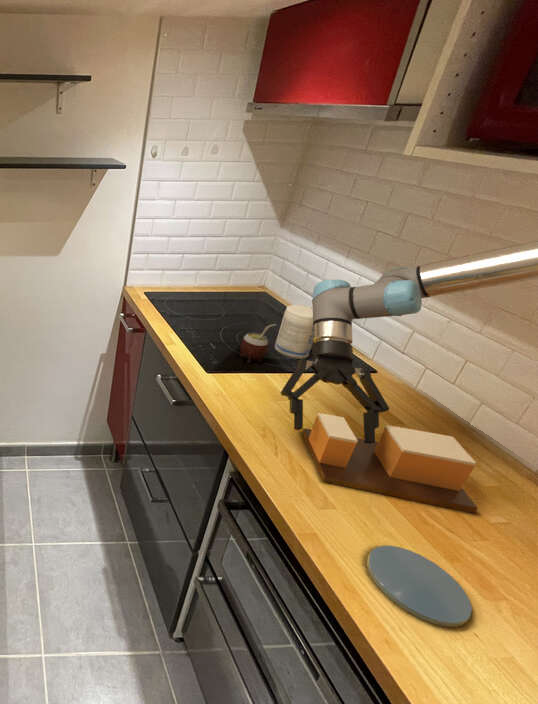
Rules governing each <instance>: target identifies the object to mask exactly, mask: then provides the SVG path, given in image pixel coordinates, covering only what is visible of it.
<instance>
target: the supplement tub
mask: <svg viewBox="0 0 538 704" xmlns="http://www.w3.org/2000/svg"><path fill="white" fill-rule="evenodd" d="M313 344H314V342H313V307H310V306H307V305H306V306H305V305H299V304H290V305H288V306H286V309H285V311H284V313H283V316H282V320H281V323H280V326H279V330H278V335H277V337H276V340H275V344H274V349H275V350H276V351H277V352H278V353H279V354H281V355H283V356H285V357H287V358H292V359H298V360H300V359H301V358H306V359H307V358H308V357H309V356H310V352H311V349H312V348H313Z"/></svg>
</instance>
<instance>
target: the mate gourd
mask: <svg viewBox="0 0 538 704" xmlns="http://www.w3.org/2000/svg"><path fill="white" fill-rule="evenodd" d="M277 325H278V324H277V323H274V324H269V325H267V326H265V328H264V330H263V331H262V333H259V332H254V331H253V332H247V333H246V334H245V336H243V339H242V340H241V344H240V354H239V356H240V357H242V358H245V359H247V361H246V363H247V364H251V362H252V361H255V362H258V363H262V362H263V359H264V357H265V356H266V354H267V351H268V348H269V341H268V338H267V336H265V333H267V331H268V330H269V329H270V328H272V327H274V326H277Z"/></svg>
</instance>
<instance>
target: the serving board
mask: <svg viewBox="0 0 538 704" xmlns="http://www.w3.org/2000/svg"><path fill="white" fill-rule="evenodd" d="M311 431H312V428H311V429H310V428H305V427H303V429H302V431H301V435H302V437H303V439H304V442H305V444H306V447H307V449H308V450H309V453H310V455H311V458H312V459H313V462H314V464H315V466H316V468H317V471H318V474H319V475H320V477H321V480H322V482H325V483H329V484H334V485H338V486H343V487H348V488H352V489H357V490H363V491H367V492H371V493H377V494H381V495H386V496H389V497H395V498H400V499H404V500H408V501H409V500H410V501H415V502H419V503H424V504H427V505H433V506H438V507H441V508H442V507H443V508H447V509H452V510H456V511H462V512H466V513H472V514H476V512H477V511H478V509H479V507H478V506H477V505H476V503H475V502H474V501H473V500H472V498H471V497H470V496H469V495H468V494H467V492H466V491H465V489H464V488H463V487H462V488H461V490H460V491H457V490H452V489H447V488H442V487H437V486H432V485H427V484H422V483H417V482H412V481H407V480H402V479H397V478H392V477H390V476H389V475H388V473H387V471H386V470H385V468H384V467H383V465H382V464H381V462H380V460H379V459H378V457H377V456H376V454H375V452H374V450H375V448H376V445H377V443H378V441H376V440H375V443H369V444H368V443H364V438H359V437H356V439H357V440H358V441H357V443H356V446H355V448H354V450H353V453H352V455H351V457H350V459H349V462H348V464H347V466H346V468H343V467H338V466H334V465H329V464H324V463H319V461H318V459H317V456H316V454H315V452H314V450H313V448H312V445H311V443H310V441H309V436H310V433H311Z"/></svg>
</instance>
